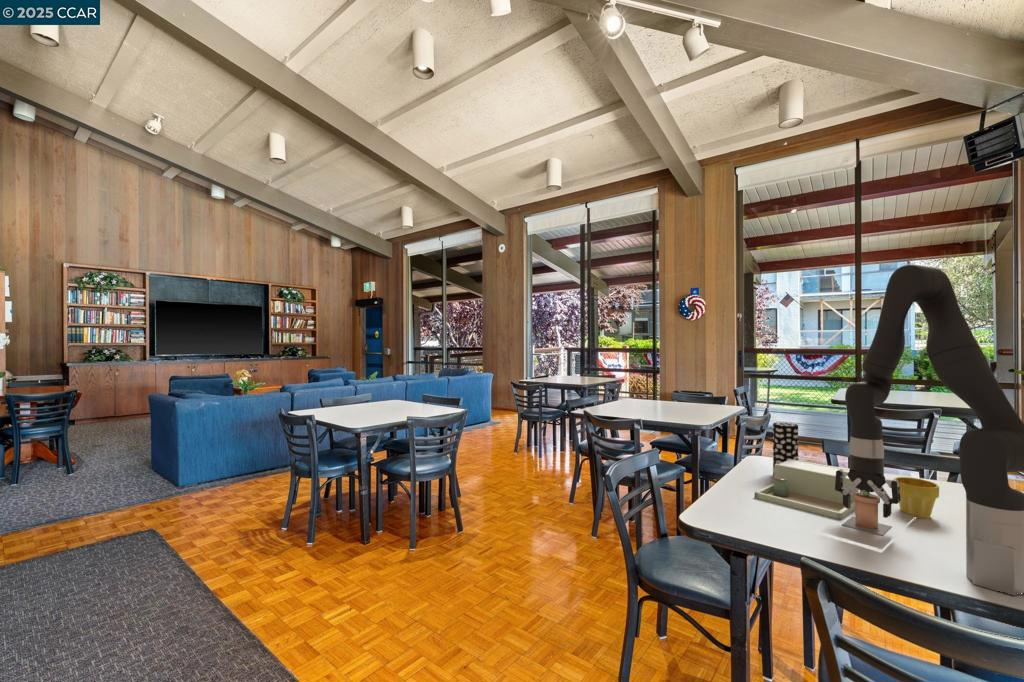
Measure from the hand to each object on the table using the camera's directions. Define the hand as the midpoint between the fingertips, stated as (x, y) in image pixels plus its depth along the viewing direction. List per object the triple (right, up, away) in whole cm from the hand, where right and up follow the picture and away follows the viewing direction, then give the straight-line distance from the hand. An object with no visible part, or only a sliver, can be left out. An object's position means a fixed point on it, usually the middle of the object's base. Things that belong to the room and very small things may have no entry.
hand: (866, 512), depth 127 cm
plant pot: (+23, -5, +10) cm, 25 cm away
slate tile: (0, -5, 0) cm, 5 cm away
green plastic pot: (-9, -4, +26) cm, 27 cm away
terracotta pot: (0, -4, 0) cm, 4 cm away
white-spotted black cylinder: (+6, -5, +48) cm, 49 cm away
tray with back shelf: (0, -5, +23) cm, 23 cm away
